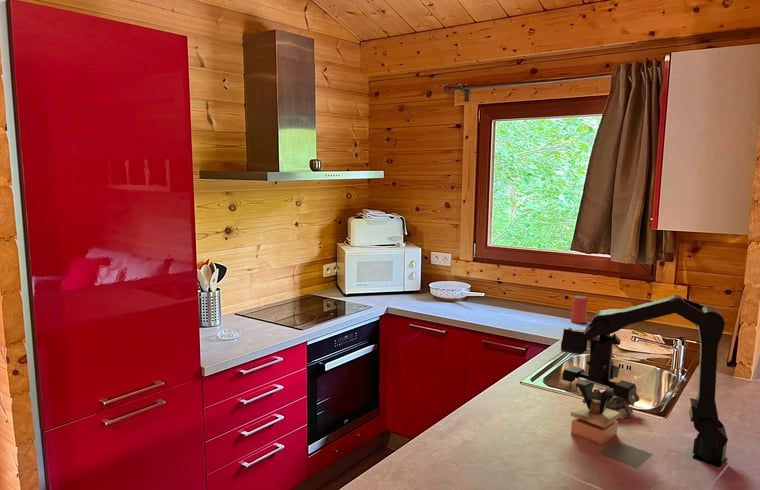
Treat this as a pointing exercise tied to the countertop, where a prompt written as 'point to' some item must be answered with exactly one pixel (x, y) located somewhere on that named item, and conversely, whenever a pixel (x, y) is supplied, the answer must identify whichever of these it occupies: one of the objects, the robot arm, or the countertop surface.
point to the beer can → (579, 309)
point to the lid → (595, 414)
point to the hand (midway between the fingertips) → (595, 411)
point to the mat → (625, 454)
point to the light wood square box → (593, 431)
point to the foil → (617, 403)
